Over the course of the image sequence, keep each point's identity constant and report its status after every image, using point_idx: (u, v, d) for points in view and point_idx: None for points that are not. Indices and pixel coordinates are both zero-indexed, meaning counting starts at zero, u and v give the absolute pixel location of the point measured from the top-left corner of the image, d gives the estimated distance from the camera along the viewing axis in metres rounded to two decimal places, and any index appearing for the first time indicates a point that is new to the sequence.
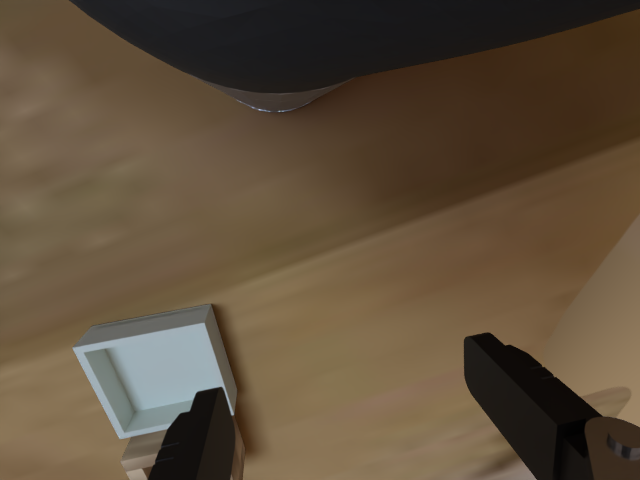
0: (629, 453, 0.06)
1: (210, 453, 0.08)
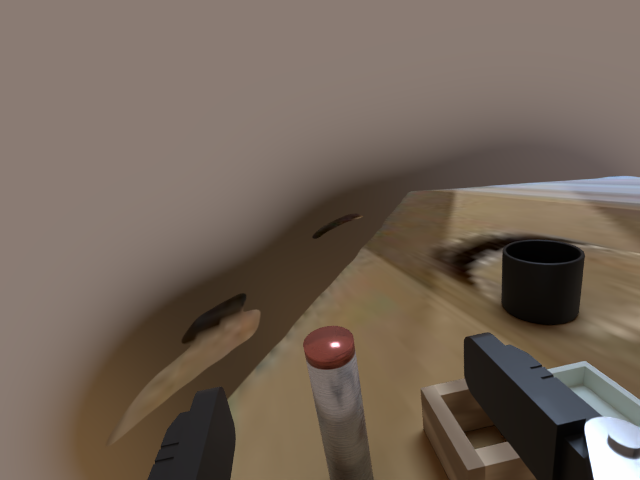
0: (629, 453, 0.06)
1: (210, 452, 0.08)
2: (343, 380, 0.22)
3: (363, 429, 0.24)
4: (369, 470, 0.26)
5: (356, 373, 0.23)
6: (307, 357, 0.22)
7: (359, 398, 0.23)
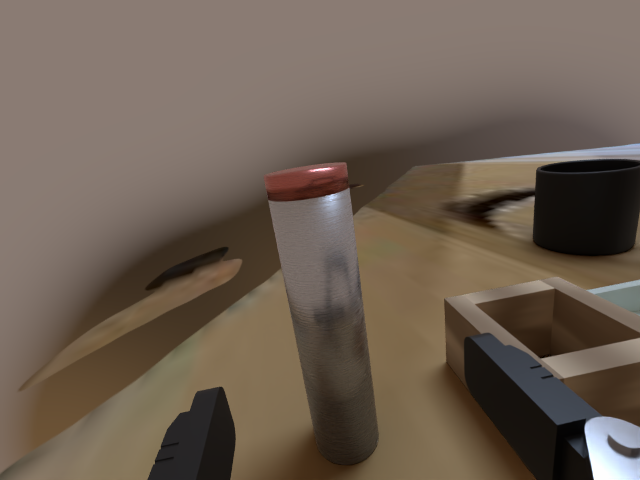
0: (629, 453, 0.06)
1: (210, 452, 0.08)
2: (327, 224, 0.13)
3: (361, 327, 0.15)
4: (370, 399, 0.17)
5: (351, 224, 0.14)
6: (268, 189, 0.13)
7: (355, 270, 0.14)
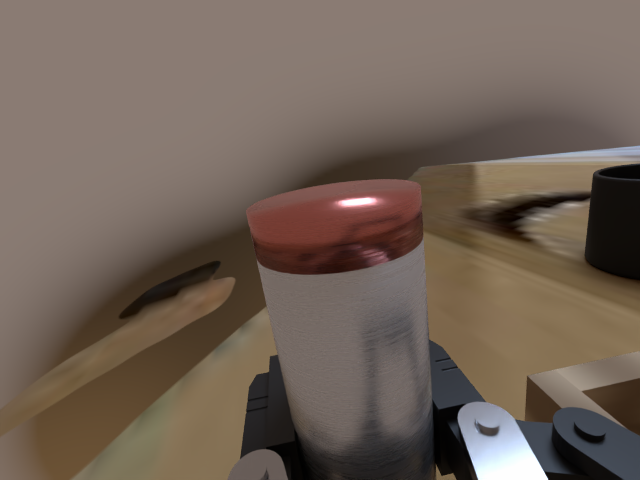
0: (486, 432, 0.07)
1: None
2: (388, 322, 0.06)
3: None
4: None
5: (426, 307, 0.07)
6: (256, 240, 0.06)
7: (430, 392, 0.07)
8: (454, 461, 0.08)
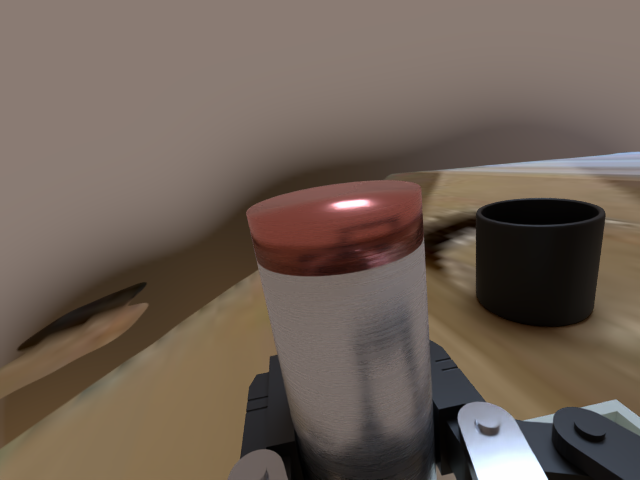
0: (486, 432, 0.07)
1: None
2: (387, 324, 0.06)
3: None
4: None
5: (426, 308, 0.07)
6: (256, 242, 0.06)
7: (430, 394, 0.07)
8: (454, 461, 0.08)
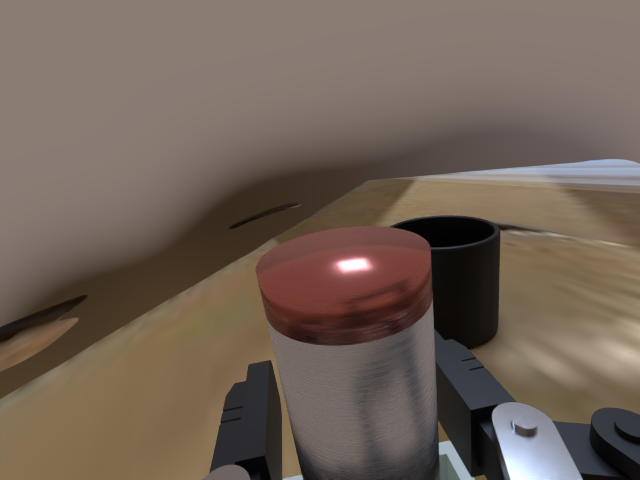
0: (524, 433, 0.07)
1: (270, 414, 0.09)
2: (398, 388, 0.06)
3: None
4: None
5: (434, 363, 0.07)
6: (266, 303, 0.06)
7: (437, 443, 0.07)
8: (486, 463, 0.08)
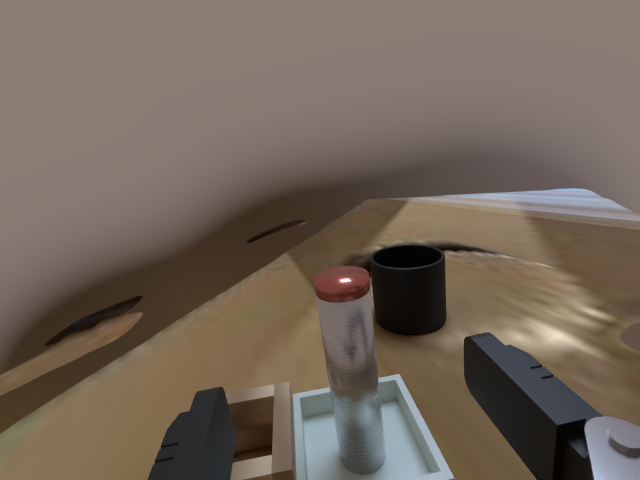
0: (629, 453, 0.06)
1: (210, 452, 0.08)
2: (356, 316, 0.20)
3: (376, 378, 0.22)
4: (381, 428, 0.24)
5: (370, 312, 0.21)
6: (318, 291, 0.21)
7: (373, 342, 0.22)
8: None
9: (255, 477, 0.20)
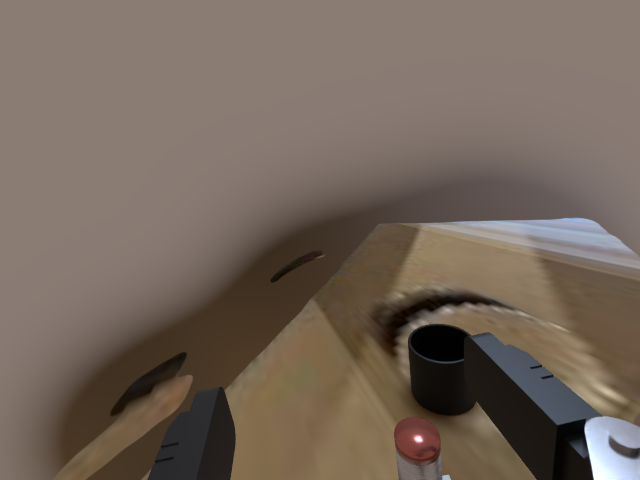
0: (629, 453, 0.06)
1: (210, 452, 0.08)
2: (432, 474, 0.25)
3: None
4: None
5: None
6: (400, 452, 0.26)
7: None
8: None
9: None
